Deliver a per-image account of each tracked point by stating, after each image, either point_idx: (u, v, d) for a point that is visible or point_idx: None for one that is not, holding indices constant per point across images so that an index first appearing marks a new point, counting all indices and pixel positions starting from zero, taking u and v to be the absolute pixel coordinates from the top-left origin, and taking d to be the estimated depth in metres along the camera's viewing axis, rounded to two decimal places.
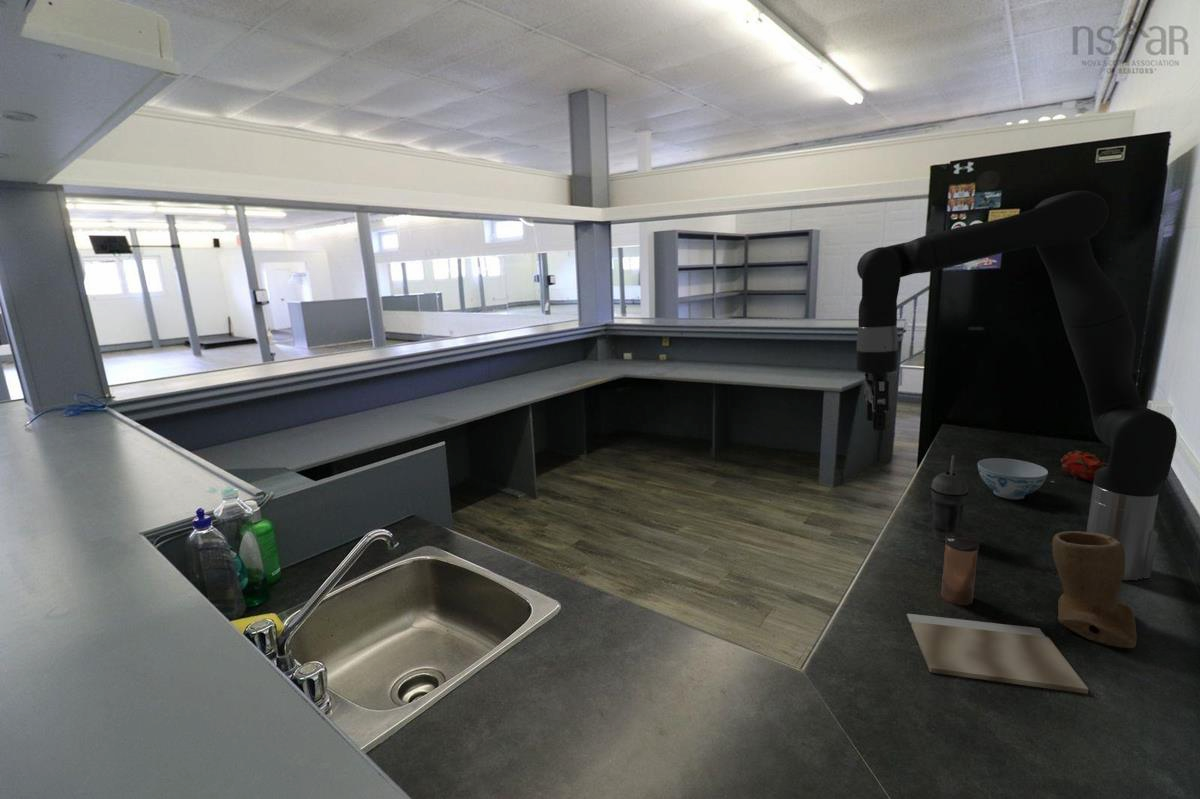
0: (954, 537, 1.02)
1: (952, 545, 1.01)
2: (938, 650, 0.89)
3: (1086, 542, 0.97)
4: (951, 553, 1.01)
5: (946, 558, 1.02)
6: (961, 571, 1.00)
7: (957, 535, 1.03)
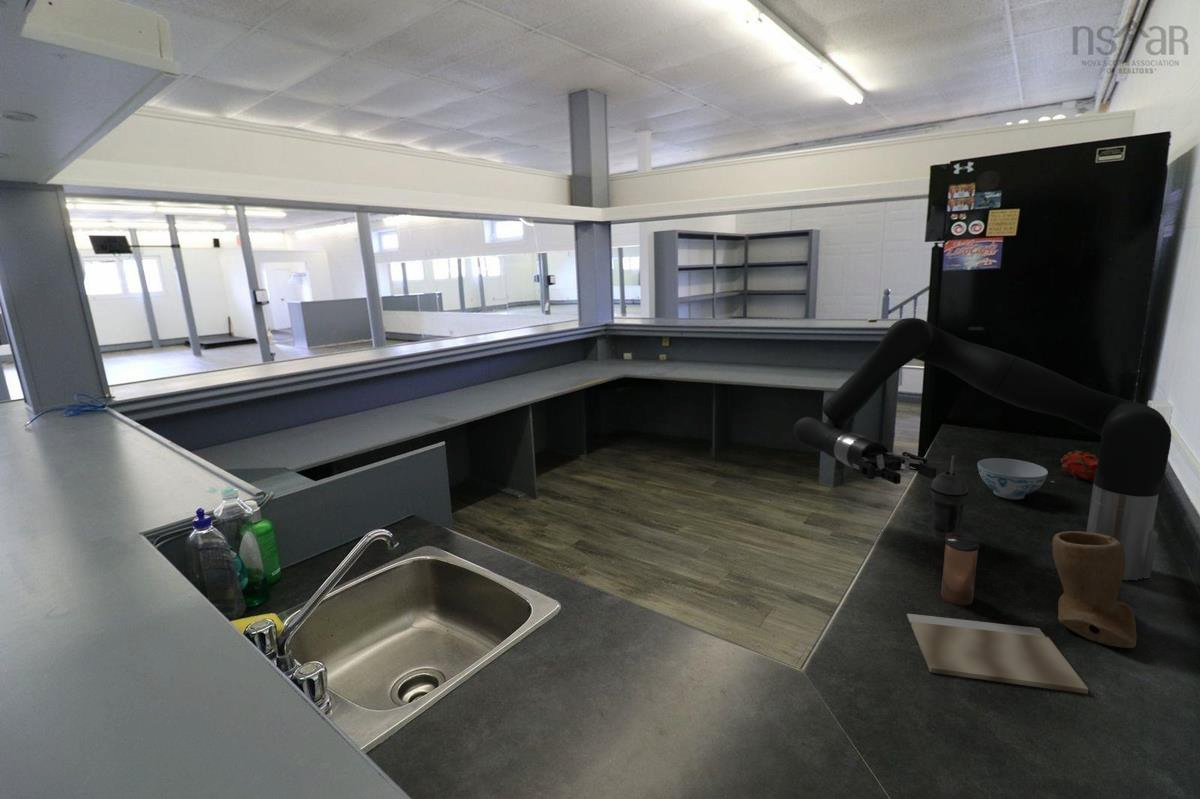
0: (954, 537, 1.02)
1: (952, 545, 1.00)
2: (938, 650, 0.89)
3: (1086, 542, 0.97)
4: (951, 553, 1.01)
5: (946, 558, 1.02)
6: (961, 571, 1.00)
7: (957, 535, 1.03)
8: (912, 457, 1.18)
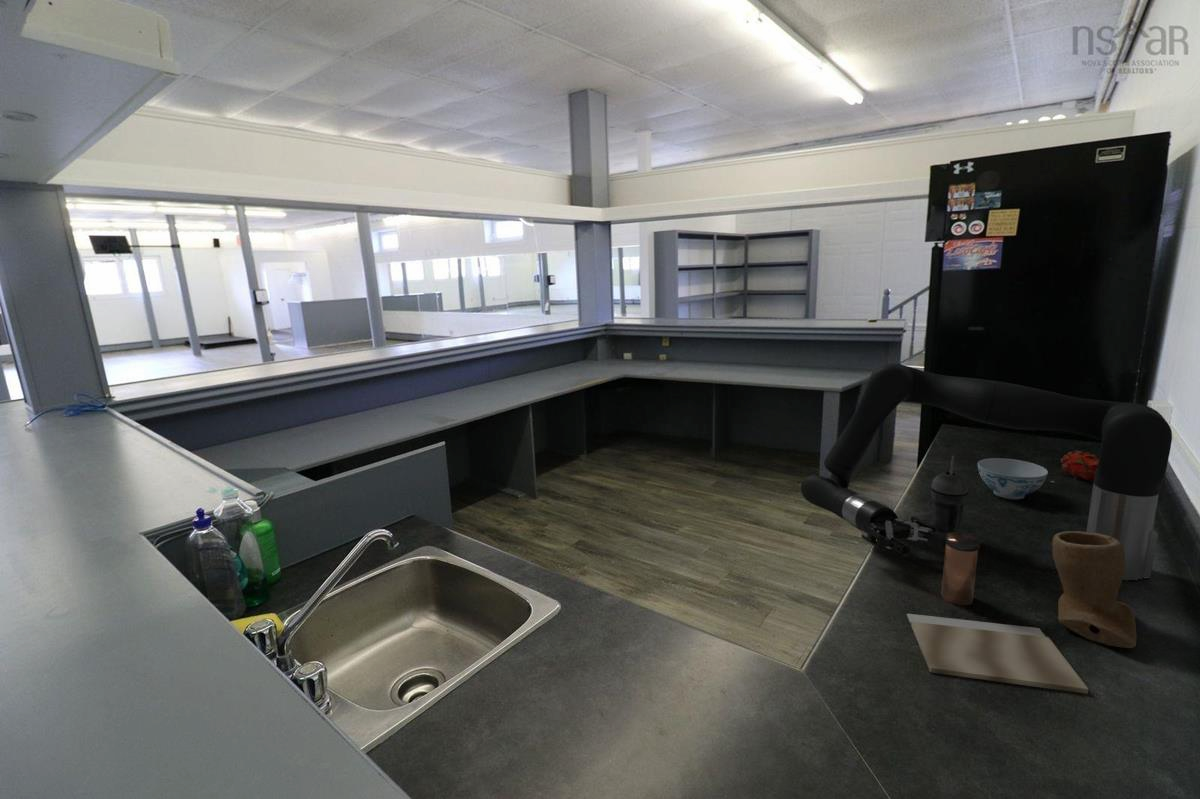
0: (954, 537, 1.02)
1: (952, 545, 1.00)
2: (938, 650, 0.89)
3: (1086, 542, 0.97)
4: (952, 553, 1.01)
5: (946, 558, 1.02)
6: (961, 571, 1.00)
7: (957, 535, 1.03)
8: (921, 523, 1.18)
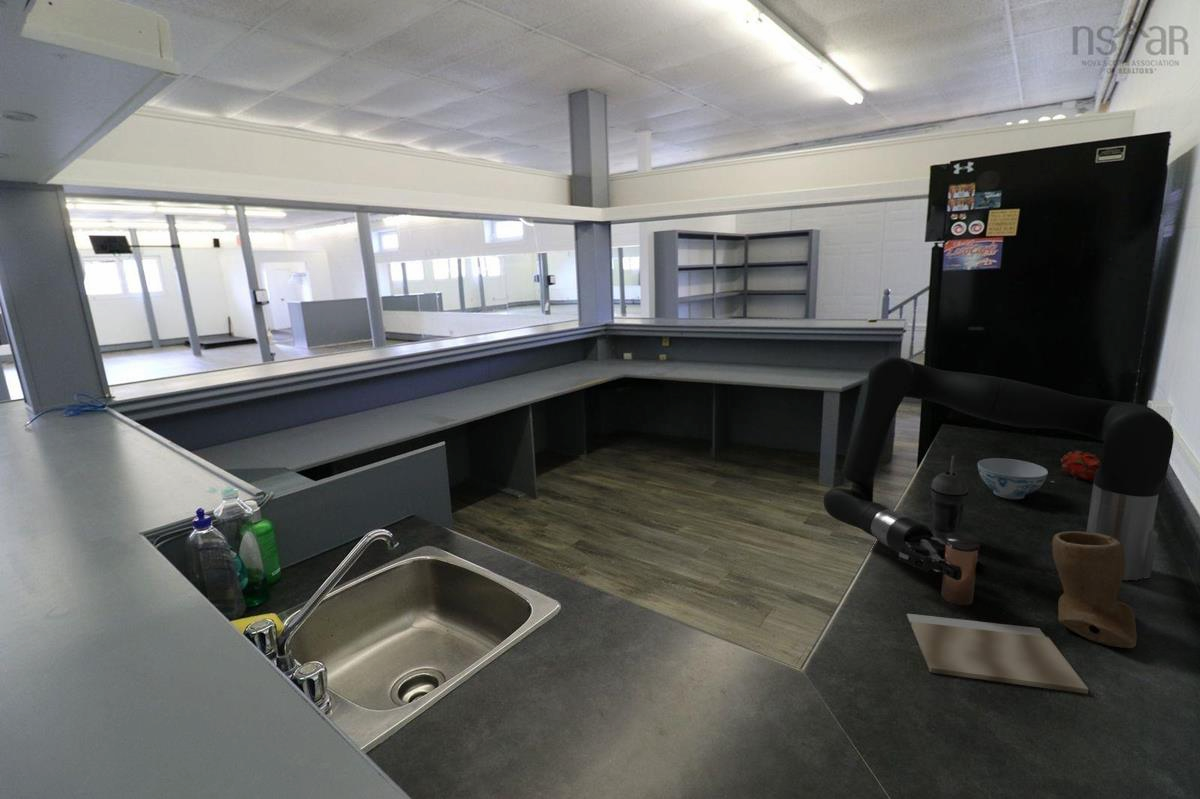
0: (954, 537, 1.02)
1: (952, 545, 1.00)
2: (938, 650, 0.89)
3: (1086, 542, 0.97)
4: (952, 553, 1.01)
5: (946, 558, 1.02)
6: (962, 571, 1.00)
7: (957, 535, 1.03)
8: None
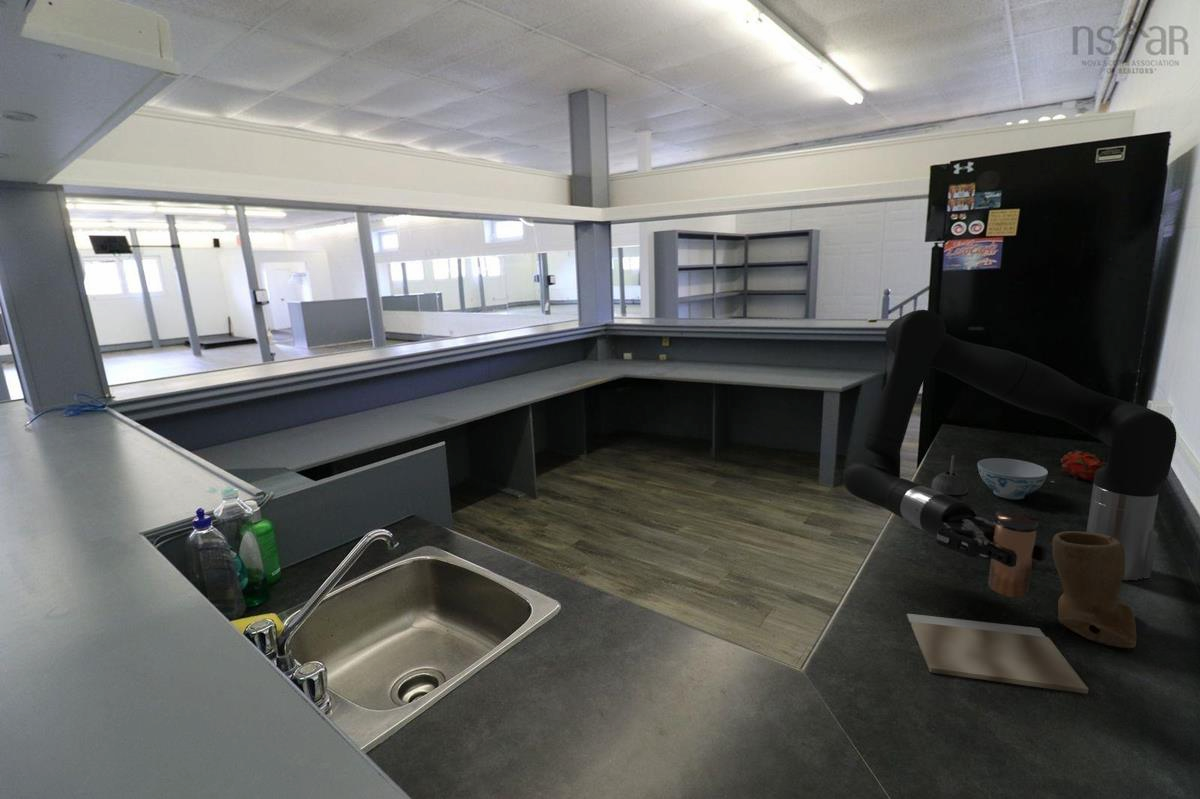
0: (1007, 515, 0.84)
1: (1005, 524, 0.83)
2: (938, 650, 0.89)
3: (1086, 542, 0.97)
4: (1004, 534, 0.83)
5: (996, 541, 0.85)
6: None
7: (1009, 512, 0.85)
8: None
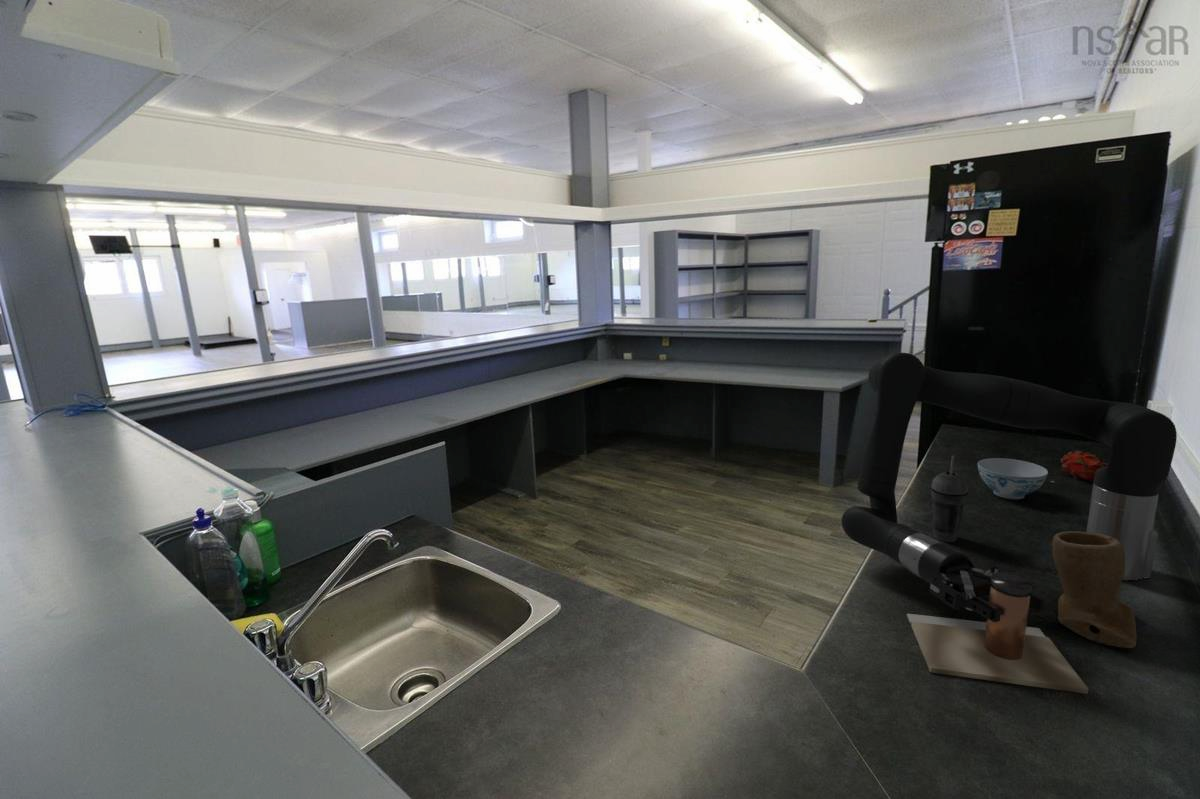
0: (1001, 579, 0.86)
1: (1000, 589, 0.85)
2: (938, 650, 0.89)
3: (1086, 542, 0.97)
4: (999, 598, 0.85)
5: None
6: (1011, 620, 0.85)
7: (1004, 576, 0.87)
8: None
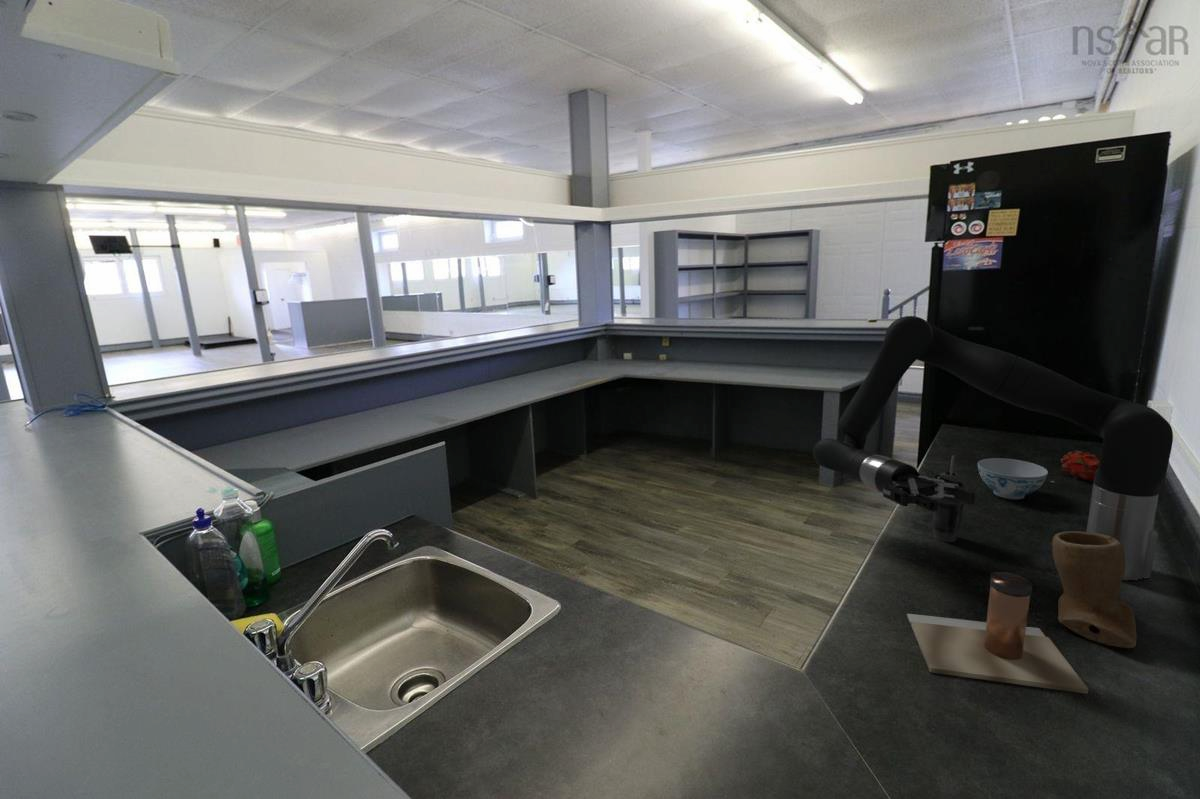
0: (1001, 579, 0.86)
1: (999, 589, 0.85)
2: (938, 650, 0.89)
3: (1086, 542, 0.97)
4: (999, 597, 0.85)
5: (991, 603, 0.87)
6: (1011, 619, 0.85)
7: (1004, 575, 0.87)
8: (946, 480, 1.11)
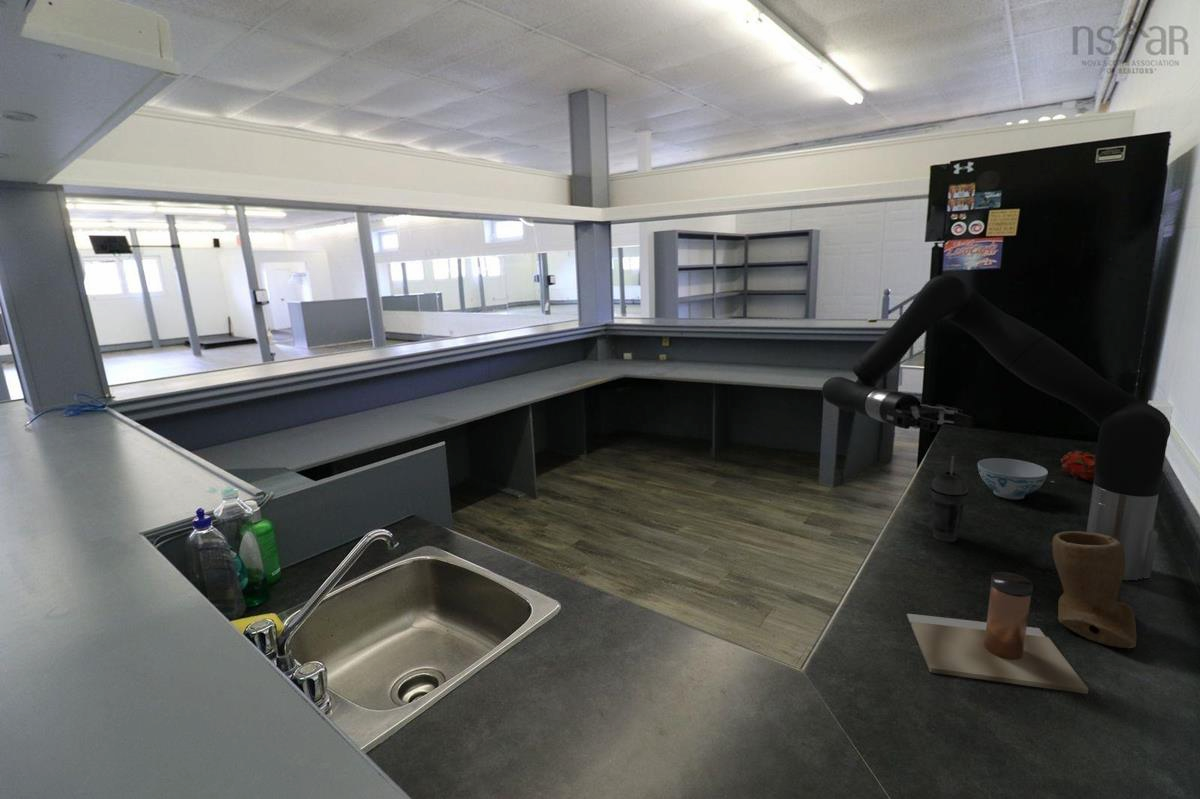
0: (1002, 578, 0.86)
1: (1000, 588, 0.85)
2: (938, 650, 0.89)
3: (1086, 542, 0.97)
4: (999, 597, 0.85)
5: (991, 603, 0.87)
6: (1011, 619, 0.85)
7: (1005, 575, 0.87)
8: (946, 409, 1.18)
